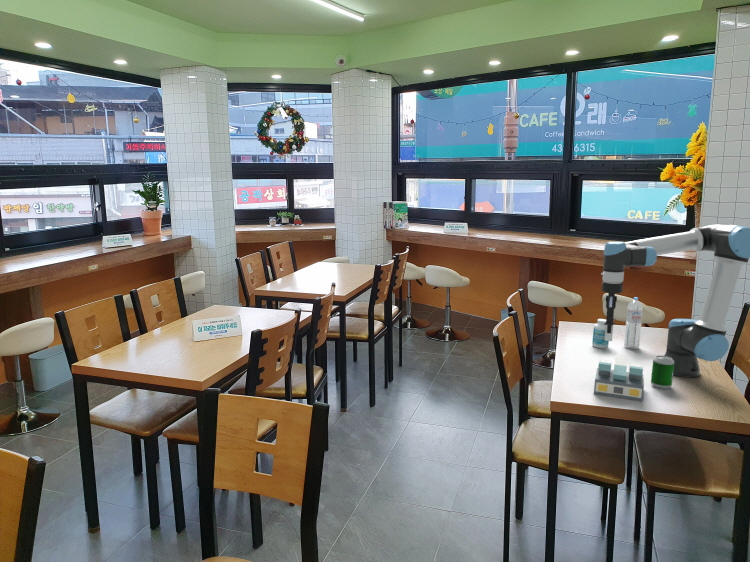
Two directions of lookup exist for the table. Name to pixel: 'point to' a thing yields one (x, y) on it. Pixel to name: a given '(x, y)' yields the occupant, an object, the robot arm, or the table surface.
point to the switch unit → (619, 385)
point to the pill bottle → (599, 334)
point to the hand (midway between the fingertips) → (608, 340)
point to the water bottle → (633, 324)
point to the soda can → (662, 372)
